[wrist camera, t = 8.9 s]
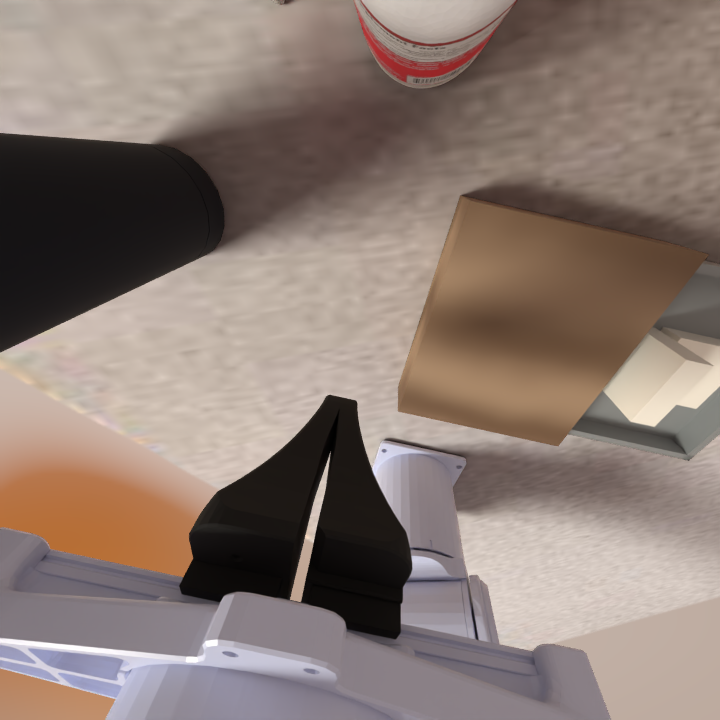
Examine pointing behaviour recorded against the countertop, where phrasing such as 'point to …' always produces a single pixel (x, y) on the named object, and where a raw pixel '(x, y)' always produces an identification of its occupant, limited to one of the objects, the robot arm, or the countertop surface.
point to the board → (533, 318)
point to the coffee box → (279, 2)
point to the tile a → (655, 378)
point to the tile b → (709, 350)
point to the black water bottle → (93, 225)
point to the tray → (682, 424)
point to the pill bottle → (428, 36)
